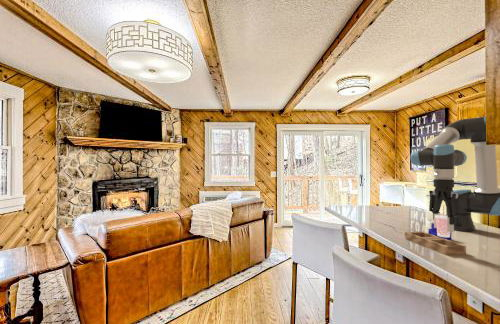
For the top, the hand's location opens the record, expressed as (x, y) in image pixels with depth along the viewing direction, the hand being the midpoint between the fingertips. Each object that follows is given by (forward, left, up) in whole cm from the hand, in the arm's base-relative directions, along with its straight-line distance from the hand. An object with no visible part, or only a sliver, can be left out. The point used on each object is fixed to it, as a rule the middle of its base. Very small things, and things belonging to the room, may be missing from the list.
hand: (443, 229), depth 118 cm
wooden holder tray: (0, -6, -9) cm, 11 cm away
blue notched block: (-16, -19, -10) cm, 27 cm away
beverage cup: (0, 0, -3) cm, 3 cm away
